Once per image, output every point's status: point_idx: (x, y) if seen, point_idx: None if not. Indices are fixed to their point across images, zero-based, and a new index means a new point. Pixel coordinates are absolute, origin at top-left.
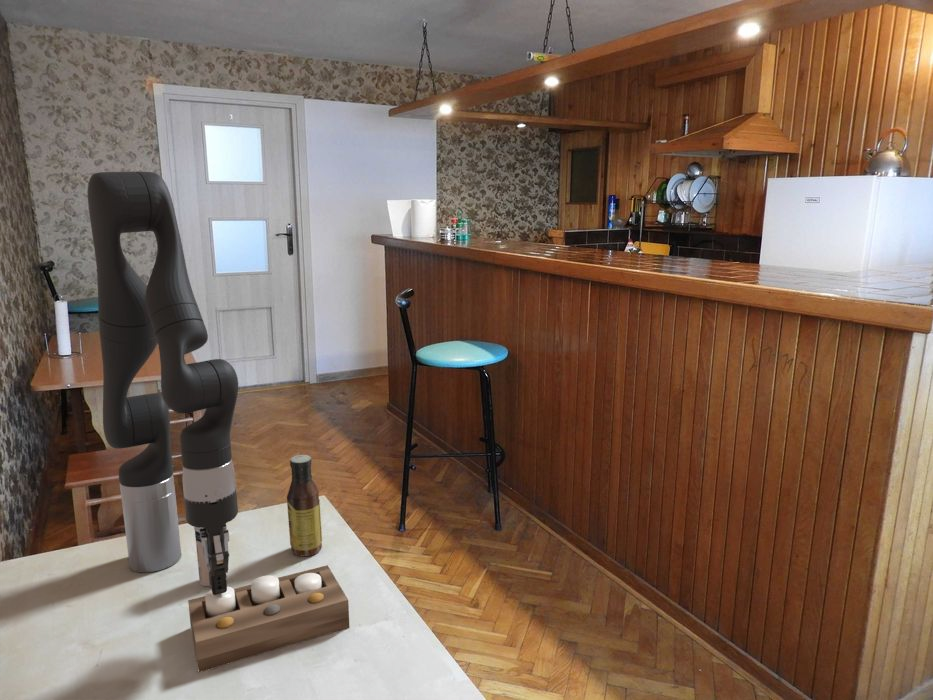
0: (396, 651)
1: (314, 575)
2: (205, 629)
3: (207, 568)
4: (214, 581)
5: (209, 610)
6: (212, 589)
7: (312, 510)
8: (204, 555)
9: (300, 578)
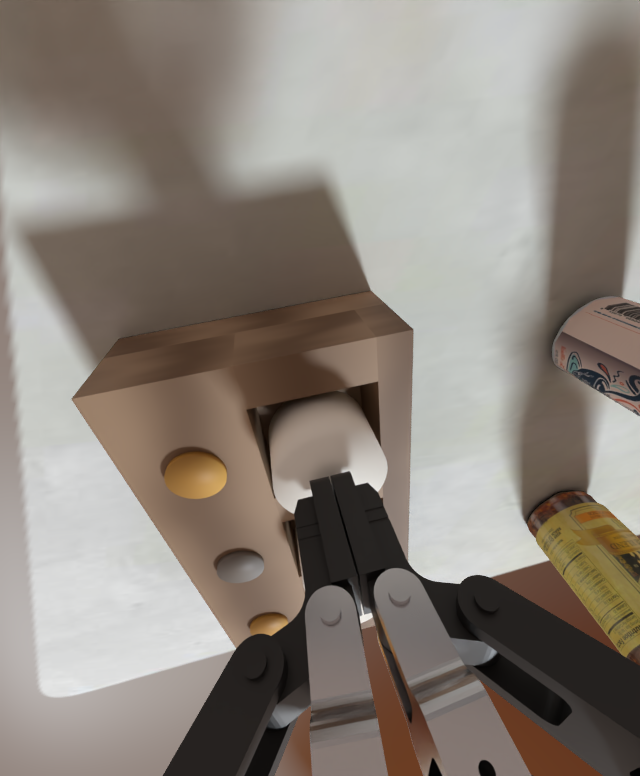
0: (155, 641)
1: (365, 616)
2: (167, 419)
3: (616, 354)
4: (301, 561)
5: (285, 424)
6: (314, 500)
7: (620, 650)
8: (423, 708)
9: None
